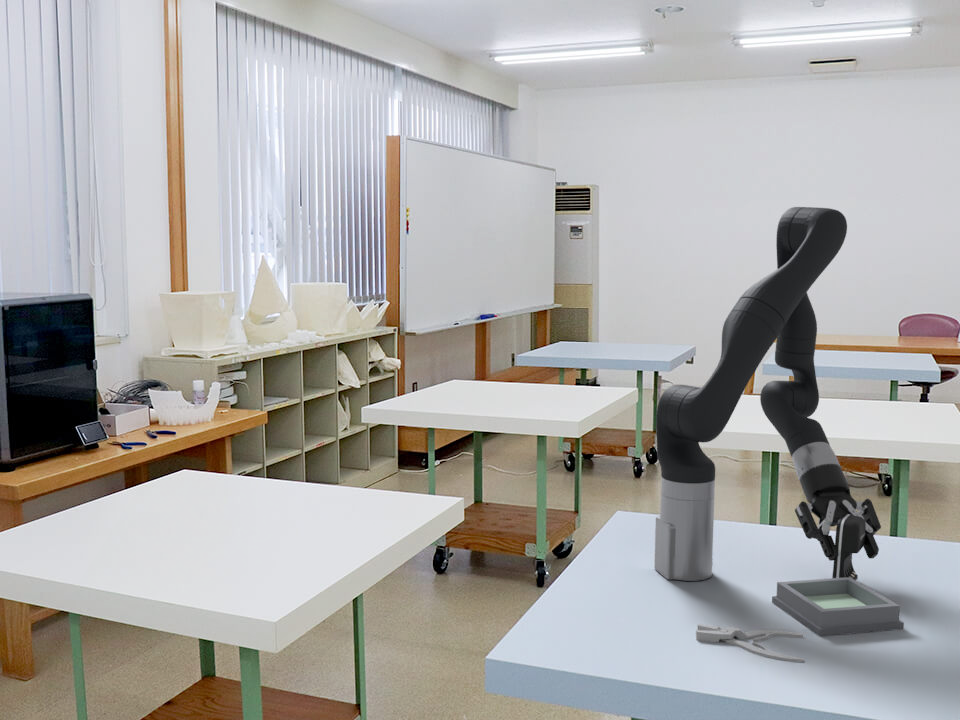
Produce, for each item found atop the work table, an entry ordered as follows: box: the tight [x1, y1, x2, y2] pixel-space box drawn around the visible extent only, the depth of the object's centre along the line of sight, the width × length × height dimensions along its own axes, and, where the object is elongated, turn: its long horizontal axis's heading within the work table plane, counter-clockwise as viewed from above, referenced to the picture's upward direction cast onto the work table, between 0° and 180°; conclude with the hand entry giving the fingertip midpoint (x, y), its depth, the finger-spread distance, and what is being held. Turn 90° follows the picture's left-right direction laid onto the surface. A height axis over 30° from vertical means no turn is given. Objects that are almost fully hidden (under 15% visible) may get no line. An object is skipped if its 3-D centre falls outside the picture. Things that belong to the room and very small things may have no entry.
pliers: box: [695, 623, 805, 663], centre depth 139 cm, size 10×2×15 cm
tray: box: [771, 577, 905, 637], centre depth 149 cm, size 14×14×4 cm
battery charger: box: [832, 514, 866, 581], centre depth 162 cm, size 7×4×11 cm, turn 147°
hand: (854, 557), depth 161 cm, fingers closed on battery charger, 7 cm apart
